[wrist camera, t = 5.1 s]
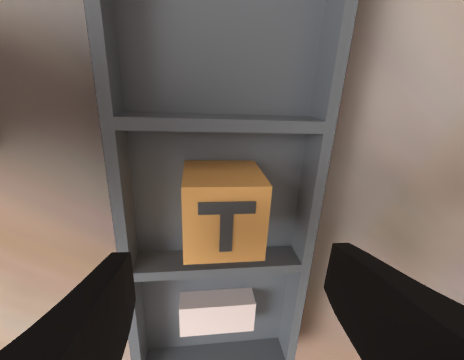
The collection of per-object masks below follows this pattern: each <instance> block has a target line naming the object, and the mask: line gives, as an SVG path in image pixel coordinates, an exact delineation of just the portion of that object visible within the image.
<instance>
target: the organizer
mask: <svg viewBox="0 0 464 360" xmlns="http://www.w3.org/2000/svg"><path fill="white" fill-rule="evenodd" d="M83 1H84V8H85V16H86V23H87V31H88V38H89V46H90V54H91V61H92V69H93V76H94V84H95V91H96V99H97V106H98V114H99V121H100V129H101V137H102V144H103V152H104V159H105V167H106V174H107V182H108V189H109V197H110V204H111V212H112V219H113V227H114V235H115V242H116V250H117V252H131V258H132V267H133V277H134V286H135V295H136V303H135V308H134V314H133V319H132V324H131V330H130V333H129V337H128V340H129V348H130V355H131V360H295V354H296V349H297V343H298V337H299V332H300V326H301V321H302V315H303V309H304V304H305V298H306V292H307V287H308V281H309V276H310V270H311V264H312V259H313V253H314V248H315V242H316V236H317V231H318V225H319V220H320V214H321V208H322V203H323V197H324V192H325V186H326V180H327V175H328V169H329V164H330V158H331V152H332V147H333V141H334V136H335V130H336V124H337V119H338V113H339V108H340V102H341V96H342V91H343V85H344V80H345V74H346V68H347V63H348V57H349V52H350V46H351V40H352V35H353V29H354V24H355V18H356V12H357V7H358V1H359V0H83ZM185 160H251V161H255V162H256V164H257V165H258V167H259V168H260V170H261V171H262V172H263V174H264V175H265V177H266V178H267V179H268V181H269V182H270V184H271V185H272V186H273V187H272V197H271V207H270V216H269V226H268V236H267V245H266V255H265V261H252V262H232V263H212V264H191V265H183V235H182V199H181V185H182V177H183V169H184V161H185ZM237 288H252V291H253V294H254V298H255V302H256V311H255V321H254V331H247V332H235V333H223V334H212V335H200V336H188V337H180V327H179V300H180V292H189V291H205V290H221V289H237Z"/></svg>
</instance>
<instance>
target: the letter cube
mask: <svg viewBox="0 0 464 360" xmlns="http://www.w3.org/2000/svg"><path fill="white" fill-rule="evenodd" d="M272 187H273V186H272V185H271V184H270V182H269V181H268V179H267V178H266V177H265V175H264V174H263V172H262V171H261V170H260V168H259V167H258V165H257V164H256V162H255V161H251V160H185V161H184V169H183V177H182V185H181V199H182V235H183V265H191V264H212V263H232V262H252V261H265V255H266V245H267V236H268V226H269V216H270V207H271V197H272Z"/></svg>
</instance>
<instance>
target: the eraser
mask: <svg viewBox="0 0 464 360" xmlns="http://www.w3.org/2000/svg"><path fill="white" fill-rule="evenodd" d="M255 311H256V302H255V298H254V294H253V291H252V288H237V289H221V290H205V291H189V292H180V300H179V327H180V337H188V336H200V335H212V334H223V333H235V332H247V331H254V321H255Z"/></svg>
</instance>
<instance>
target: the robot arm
mask: <svg viewBox="0 0 464 360" xmlns="http://www.w3.org/2000/svg"><path fill="white" fill-rule="evenodd" d="M324 289H325V292H326V294H327V297H328V299H329V302H330V304H331V306H332V308H333V310H334V313H335V315H336V316H337V318H338V320H339V322H340V324H341V325H342V327H343V329H344V330H345V332H346V334H347V336H348V337H349V339H350V341H351V342H352V344H353V346H354V348H355V349H356V351H357V353H358V354H359V356H360V358H361V359H362V360H464V305H462V304H460V303H458V302H456V301H454V300H452V299H450V298H448V297H446V296H444V295H442V294H440V293H438V292H436V291H434V290H432V289H431V288H429V287H427V286H425V285H423V284H421V283H419V282H418V281H416V280H414V279H412V278H410V277H409V276H407V275H405V274H403V273H402V272H400V271H398V270H396V269H395V268H393V267H391V266H389V265H388V264H386V263H384V262H382V261H381V260H379V259H377V258H376V257H374V256H372V255H370V254H369V253H367V252H365V251H363V250H361V249H360V248H358V247H356V246H354V245H352V244H350V243H333V245H332V249H331V254H330V259H329V264H328V269H327V274H326V279H325V283H324ZM135 303H136V295H135V286H134V277H133V267H132V258H131V252H115V253H111V254H110V255H109V256H108V257H107V258H105V259H104V260H103V261H102V262H101V263H100V264H99V265H98V266H97V267H96V268H95V269H94V270H93V271H92V272H91V273H90V274H89V275H88V276H87V277H86V278H85V279H84V280H83V281H82V282H81V283H79V284H78V285H77V286H76V287H75V288H74V289H73V290H72V291H71V292H70V293H69V294H68V295H67V296H65V297H64V298H63V299H62V300H61V301H60V302H59V303H58V304H57V305H55V306H54V307H53V308H52V309H51V310H50V311H48V312H47V313H46V314H45V315H44V316H43V317H41V318H40V319H39V320H38V321H37V322H36V323H34V324H33V325H32V326H31V327H30V328H28V329H27V330H26V331H25V332H23V333H22V334H21V335H20V336H18V337H17V338H16V339H15V340H13V341H12V342H11V343H9V344H8V345H7V346H5V347H4V348H3V349H1V350H0V360H122V357H123V353H124V350H125V347H126V343H127V340H128V337H129V333H130V330H131V324H132V319H133V314H134V308H135Z"/></svg>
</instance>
